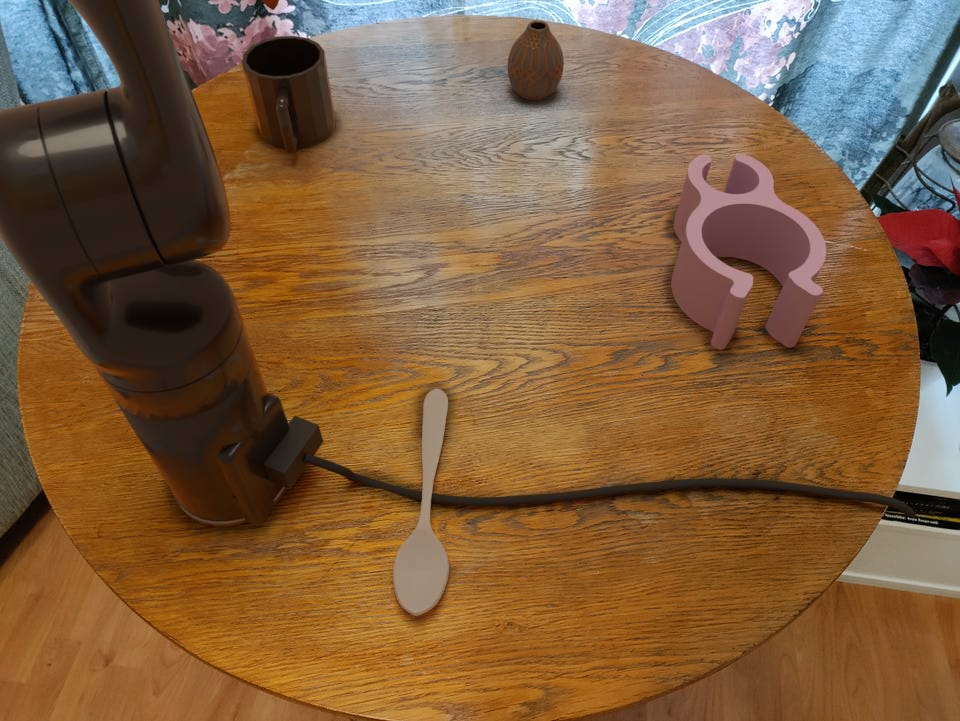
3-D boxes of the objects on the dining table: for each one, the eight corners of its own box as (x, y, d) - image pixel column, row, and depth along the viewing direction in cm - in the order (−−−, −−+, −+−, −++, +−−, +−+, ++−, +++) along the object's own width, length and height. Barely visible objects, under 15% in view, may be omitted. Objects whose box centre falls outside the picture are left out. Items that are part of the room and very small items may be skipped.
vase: (570, 87, 98) (577, 20, 91) (544, 113, 94) (549, 45, 87) (523, 71, 100) (527, 5, 93) (496, 96, 96) (498, 29, 89)
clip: (648, 208, 83) (660, 155, 77) (762, 205, 83) (781, 152, 78) (688, 350, 70) (706, 298, 65) (822, 346, 70) (850, 294, 65)
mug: (263, 107, 94) (246, 37, 88) (336, 103, 95) (325, 34, 88) (253, 169, 87) (234, 98, 80) (333, 165, 87) (321, 94, 80)
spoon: (388, 621, 54) (386, 613, 53) (413, 389, 67) (412, 377, 66) (446, 623, 54) (445, 615, 53) (460, 390, 67) (460, 379, 66)
